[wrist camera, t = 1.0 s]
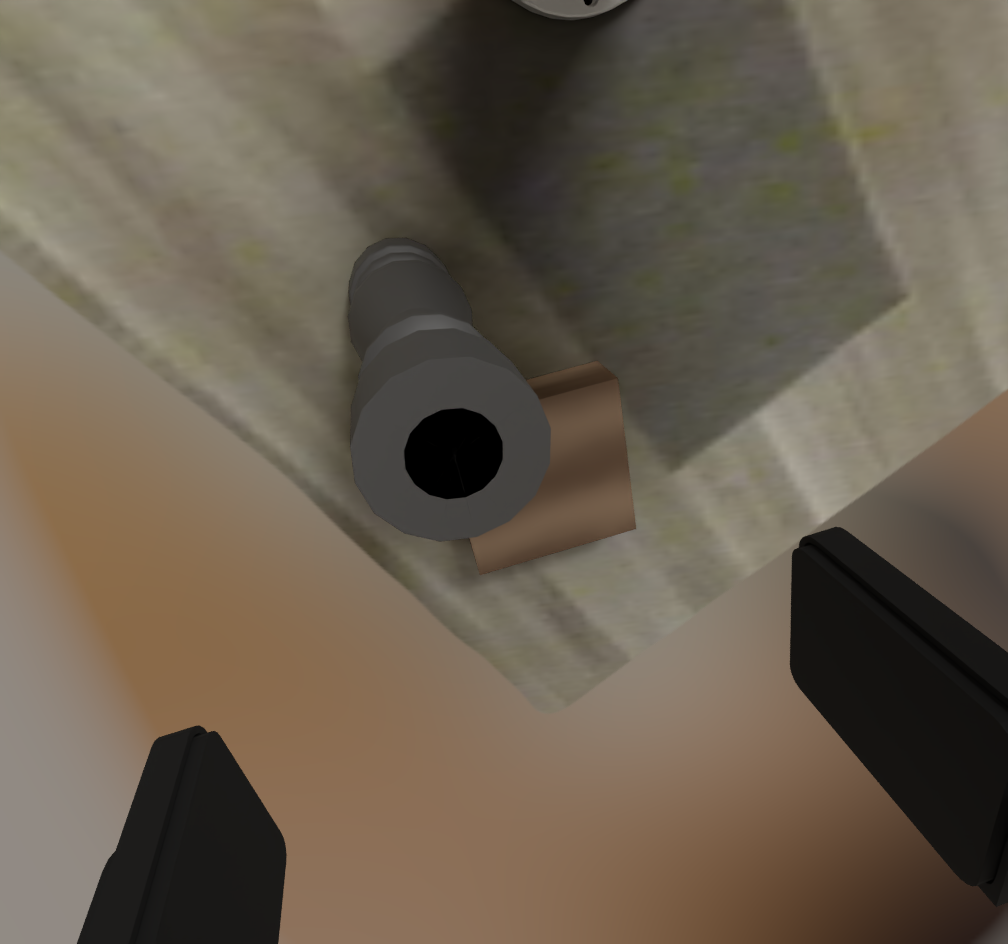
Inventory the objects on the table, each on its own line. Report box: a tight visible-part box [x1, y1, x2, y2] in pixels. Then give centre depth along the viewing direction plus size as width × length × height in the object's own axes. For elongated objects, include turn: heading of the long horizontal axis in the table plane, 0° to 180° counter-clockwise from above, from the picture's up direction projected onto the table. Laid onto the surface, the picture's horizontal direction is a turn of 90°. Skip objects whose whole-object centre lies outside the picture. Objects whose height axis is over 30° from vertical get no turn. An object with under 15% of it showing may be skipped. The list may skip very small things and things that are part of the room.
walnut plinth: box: [469, 361, 636, 575], centre depth 45 cm, size 12×12×4 cm
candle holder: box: [348, 238, 551, 541], centre depth 29 cm, size 6×6×25 cm
